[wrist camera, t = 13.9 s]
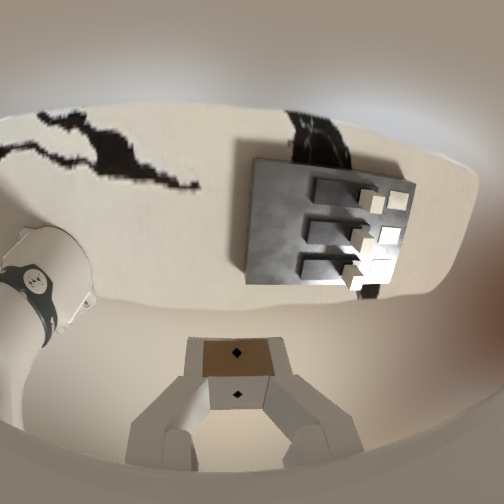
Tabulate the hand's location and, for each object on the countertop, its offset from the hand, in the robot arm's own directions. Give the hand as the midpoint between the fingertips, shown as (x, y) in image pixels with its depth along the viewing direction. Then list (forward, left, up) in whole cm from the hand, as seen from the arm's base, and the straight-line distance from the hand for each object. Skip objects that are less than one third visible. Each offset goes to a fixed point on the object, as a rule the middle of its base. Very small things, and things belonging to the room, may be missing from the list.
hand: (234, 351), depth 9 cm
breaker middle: (+9, -17, -25) cm, 31 cm away
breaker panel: (+7, -15, -29) cm, 33 cm away
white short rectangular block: (+5, -21, -25) cm, 33 cm away
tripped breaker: (+13, -13, -25) cm, 31 cm away
